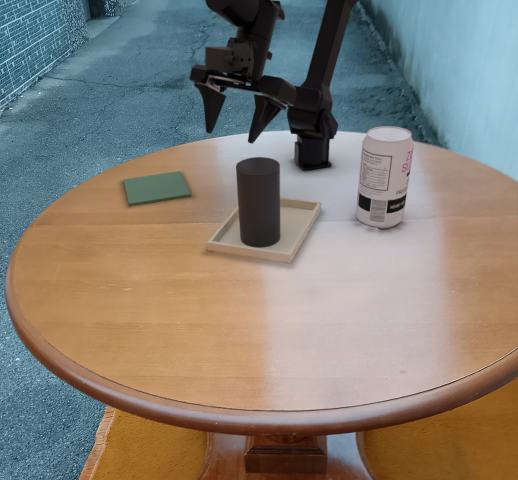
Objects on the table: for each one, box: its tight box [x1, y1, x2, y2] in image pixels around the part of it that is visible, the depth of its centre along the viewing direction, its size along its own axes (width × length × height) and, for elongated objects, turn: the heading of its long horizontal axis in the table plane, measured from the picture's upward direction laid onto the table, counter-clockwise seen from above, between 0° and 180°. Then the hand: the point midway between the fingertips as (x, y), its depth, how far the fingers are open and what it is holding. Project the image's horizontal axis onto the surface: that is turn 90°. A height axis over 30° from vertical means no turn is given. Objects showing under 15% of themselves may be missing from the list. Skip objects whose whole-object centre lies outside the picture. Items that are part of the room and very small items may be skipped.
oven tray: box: [206, 196, 322, 264], centre depth 93 cm, size 19×14×2 cm
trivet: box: [122, 170, 192, 207], centre depth 108 cm, size 12×12×1 cm
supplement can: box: [355, 125, 415, 230], centre depth 90 cm, size 8×8×15 cm
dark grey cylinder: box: [235, 156, 281, 248], centre depth 87 cm, size 7×7×13 cm
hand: (228, 137), depth 91 cm, fingers open, 9 cm apart
